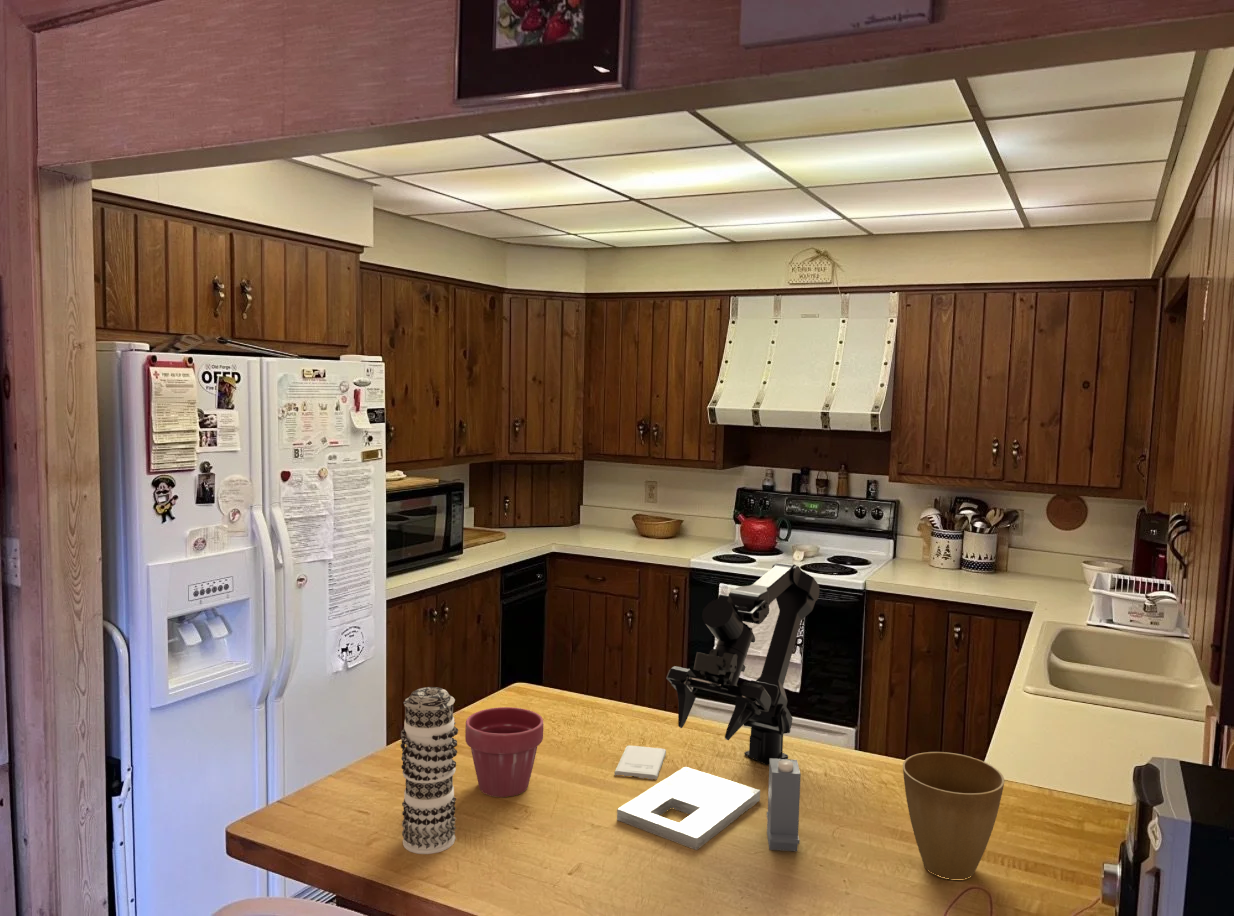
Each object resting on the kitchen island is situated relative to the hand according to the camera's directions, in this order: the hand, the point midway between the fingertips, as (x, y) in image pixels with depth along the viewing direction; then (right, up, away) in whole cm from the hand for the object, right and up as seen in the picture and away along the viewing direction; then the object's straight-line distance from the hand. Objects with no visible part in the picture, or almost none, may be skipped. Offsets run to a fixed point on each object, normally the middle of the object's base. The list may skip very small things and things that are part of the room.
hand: (702, 733), depth 160 cm
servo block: (+12, -15, -9) cm, 22 cm away
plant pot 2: (+37, -17, -17) cm, 44 cm away
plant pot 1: (-36, -13, +9) cm, 39 cm away
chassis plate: (-2, -14, +1) cm, 14 cm away
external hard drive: (-10, -13, +20) cm, 26 cm away
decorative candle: (-46, -14, -11) cm, 49 cm away
